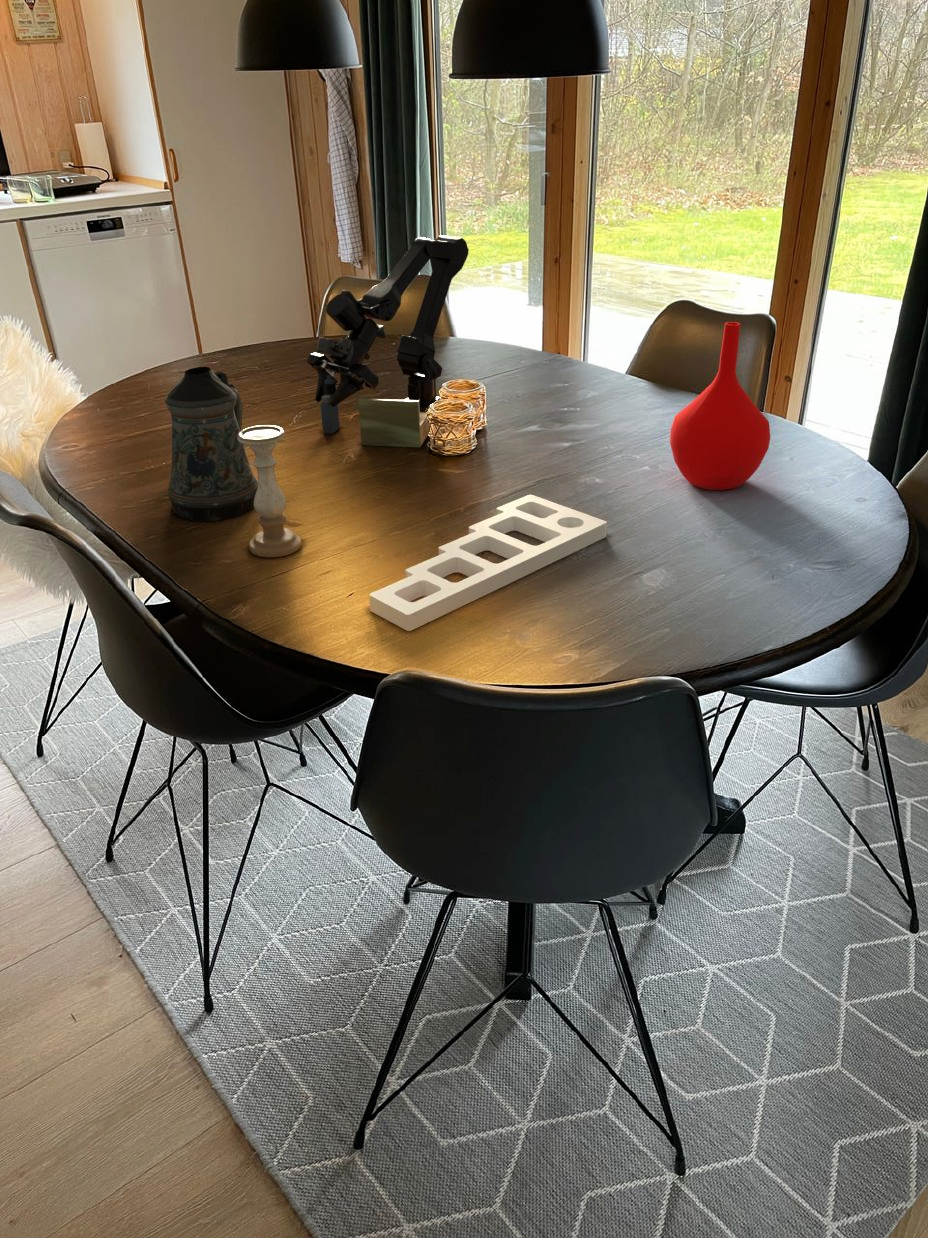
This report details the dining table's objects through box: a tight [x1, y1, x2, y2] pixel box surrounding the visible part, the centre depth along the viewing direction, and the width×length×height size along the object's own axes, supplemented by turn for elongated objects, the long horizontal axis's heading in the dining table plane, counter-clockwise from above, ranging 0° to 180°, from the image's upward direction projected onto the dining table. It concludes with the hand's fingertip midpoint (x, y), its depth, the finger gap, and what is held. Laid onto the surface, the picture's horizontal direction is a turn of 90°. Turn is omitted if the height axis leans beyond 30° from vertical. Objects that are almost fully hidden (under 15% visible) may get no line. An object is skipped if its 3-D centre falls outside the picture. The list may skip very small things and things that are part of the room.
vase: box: [669, 321, 771, 491], centre depth 178 cm, size 18×18×30 cm
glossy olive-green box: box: [357, 398, 430, 448], centre depth 208 cm, size 10×13×10 cm
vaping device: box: [320, 375, 341, 435], centre depth 213 cm, size 3×5×12 cm, turn 161°
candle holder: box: [237, 424, 302, 558], centre depth 158 cm, size 9×9×20 cm
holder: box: [368, 494, 608, 632], centre depth 156 cm, size 45×18×3 cm, turn 134°
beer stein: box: [164, 366, 258, 522], centre depth 175 cm, size 16×19×25 cm
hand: (324, 403), depth 212 cm, fingers open, 5 cm apart
